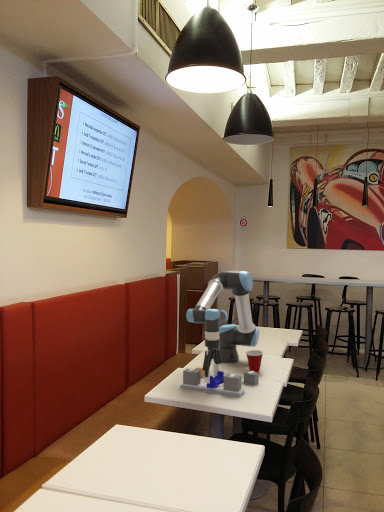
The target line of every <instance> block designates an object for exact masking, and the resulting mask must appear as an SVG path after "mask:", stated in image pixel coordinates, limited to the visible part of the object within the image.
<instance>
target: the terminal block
mask: <svg viewBox="0 0 384 512" xmlns="http://www.w3.org/2000/svg"><path fill="white" fill-rule="evenodd" d="M194 369H196V370H201V377H203V378H204V370H202V369H203V365H196V366H195V368H194Z"/></svg>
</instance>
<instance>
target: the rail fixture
mask: <svg viewBox="0 0 384 512" xmlns="http://www.w3.org/2000/svg"><path fill="white" fill-rule="evenodd" d="M201 379H202V378H201V370H196V369H195V368H193V367H191V368H186V369H184V370H183V371H182V383H181V384H180V385H179V389H184V390H190V391H197V392H203V393H210V394H216V395H217V394H218V395H223V396H230V397H237V398H242V397H243V396H244V395H245V390H243V389H242V375H238V374H236V373H226V374H225V375H224V383H223V386H222V385H218V386H216V387H214V388H212V389H211V388H207V383H202V382H201V381H202V380H201Z"/></svg>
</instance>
